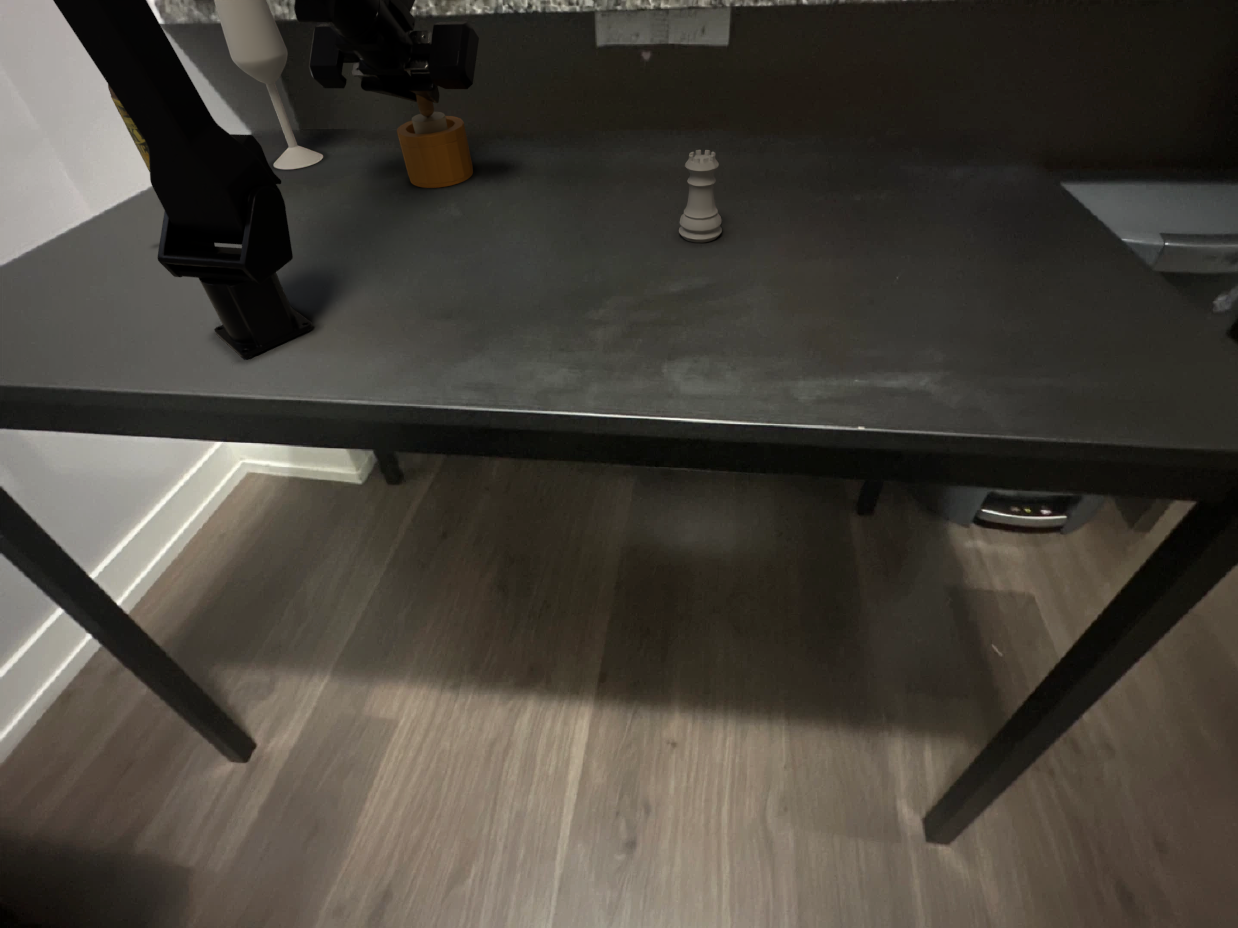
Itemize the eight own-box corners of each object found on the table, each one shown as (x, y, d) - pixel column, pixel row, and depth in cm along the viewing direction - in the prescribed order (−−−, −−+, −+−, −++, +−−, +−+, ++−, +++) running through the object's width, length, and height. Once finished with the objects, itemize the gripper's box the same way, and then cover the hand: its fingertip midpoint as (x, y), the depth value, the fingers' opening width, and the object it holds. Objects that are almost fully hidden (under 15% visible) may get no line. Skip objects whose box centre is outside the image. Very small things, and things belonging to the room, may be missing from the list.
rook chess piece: (730, 232, 71) (735, 151, 65) (704, 248, 68) (706, 166, 63) (696, 221, 73) (698, 142, 68) (669, 236, 71) (669, 156, 65)
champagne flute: (280, 154, 97) (200, -56, 81) (327, 149, 98) (257, -61, 81) (267, 171, 92) (179, -49, 76) (317, 166, 93) (240, -54, 76)
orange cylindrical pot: (485, 173, 87) (476, 122, 83) (433, 193, 83) (420, 141, 79) (449, 160, 91) (439, 111, 87) (398, 178, 88) (384, 128, 83)
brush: (453, 151, 88) (428, 34, 79) (454, 162, 85) (428, 41, 76) (422, 156, 87) (393, 38, 78) (422, 166, 84) (392, 45, 75)
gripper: (451, -76, 65) (510, 32, 81) (283, -67, 69) (370, 34, 85) (435, 39, 65) (498, 125, 80) (267, 40, 69) (357, 122, 84)
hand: (429, 98), depth 82 cm, fingers closed on brush, 2 cm apart
